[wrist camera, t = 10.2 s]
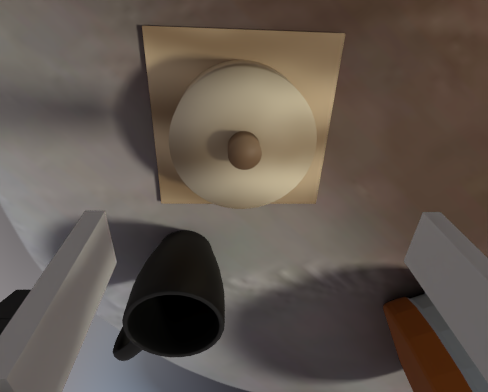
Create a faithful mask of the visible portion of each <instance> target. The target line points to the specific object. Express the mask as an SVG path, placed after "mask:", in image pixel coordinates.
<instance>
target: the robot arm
mask: <svg viewBox="0 0 488 392" xmlns="http://www.w3.org/2000/svg"><path fill="white" fill-rule="evenodd" d="M404 262H405V264H406V265H407V267H408V268H409V269H410V271H411V272H412V274H413V275H414V277H415V278H416V280H417V281H418V283H419V284H420V285H421V287H422V288H423V290H424V291H425V293H426V294H427V296H428V297H429V298H430V300H431V301H432V303H433V304H434V306H435V307H436V309H437V310H438V312H439V313H440V314H441V316H442V317H443V319H444V320H445V322H446V323H447V325H448V326H449V328H450V329H451V330H452V332H453V333H454V335H455V336H456V338H457V339H458V341H459V342H460V344H461V345H462V346H463V348H464V349H465V351H466V352H467V354H468V355H469V357H470V358H471V360H472V361H473V362H474V364H475V365H476V367H477V368H478V370H479V371H480V373H481V374H482V375H483V377H484V378H485V380H486V381H487V383H488V258H487V257H486V256H485V255H484V254H483V253H482V252H481V251H480V250H479V249H478V248H477V247H476V246H475V245H474V244H473V243H472V242H471V241H470V240H468V239H467V238H466V237H465V236H464V235H463V234H462V233H461V232H460V231H459V230H458V229H457V228H456V227H455V226H454V225H453V224H452V223H451V222H450V221H449V220H448V219H447V218H446V217H445V216H444V215H443V214H442V213H441V212H423V214H422V216H421V219H420V221H419V224H418V226H417V229H416V231H415V234H414V236H413V239H412V241H411V244H410V246H409V249H408V252H407V254H406V257H405V259H404ZM116 263H117V261H116V256H115V252H114V248H113V243H112V239H111V234H110V230H109V226H108V221H107V217H106V212H105V211H85V212H84V213H83V215H82V216H81V218H80V219H79V221H78V222H77V224H76V225H75V227H74V228H73V229H72V231H71V232H70V234H69V235H68V237H67V238H66V240H65V241H64V243H63V244H62V246H61V247H60V249H59V250H58V251H57V253H56V254H55V256H54V257H53V259H52V260H51V262H50V263H49V265H48V266H47V268H46V269H45V270H44V272H43V273H42V275H41V276H40V278H39V279H38V281H37V282H36V284H35V285H34V287H33V288H32V289H31V290H16V291H14V292H13V293H12V294H10V295H9V296H8V297H7V298H5V299H4V300H3V301H2V302H0V392H62V390H63V388H64V386H65V384H66V381H67V379H68V376H69V374H70V372H71V369H72V367H73V365H74V362H75V360H76V358H77V355H78V353H79V350H80V348H81V346H82V343H83V341H84V339H85V336H86V334H87V332H88V329H89V327H90V325H91V322H92V320H93V318H94V315H95V313H96V311H97V308H98V306H99V303H100V301H101V299H102V296H103V294H104V292H105V289H106V287H107V285H108V282H109V280H110V278H111V275H112V273H113V270H114V268H115V266H116Z"/></svg>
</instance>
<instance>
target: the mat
mask: <svg viewBox="0 0 488 392" xmlns="http://www.w3.org/2000/svg"><path fill="white" fill-rule="evenodd" d="M142 31H143V40H144V49H145V58H146V67H147V76H148V85H149V94H150V103H151V112H152V121H153V131H154V140H155V149H156V158H157V167H158V176H159V185H160V194H161V203H181V204H213V203H211V202H209V201H207V200H205V199H203V198H201V197H200V196H198V195H197V194H196V193H194V192H193V191H192V190H191V189H190V188H189V187H188V186H187V185H186V184H185V183H184V182H183V180H182V179H181V178H180V176H179V174H178V173H177V171H176V169H175V167H174V165H173V162H172V159H171V155H170V149H169V130H170V125H171V121H172V118H173V115H174V113H175V111H176V108H177V106H178V104H179V102H180V100H181V98H182V96H183V94H184V92H185V90H186V89H187V87H188V86H189V85H190V84H191V82H192V81H193V80H194V79H195V78H196V77H197V76H198V75H200V74H201V73H202V72H204V71H205V70H207V69H208V68H210V67H212V66H215V65H217V64H220V63H223V62H227V61H232V60H249V61H255V62H259V63H263V64H265V65H268V66H270V67H272V68H273V69H275V70H277V71H278V72H280V73H281V74H282V75H283V76H285V77H286V78H287V79H288V80H289V82H290V83H291V84H292V85H293V86H294V87H295V88H296V89H297V90H298V91H299V92H300V93H301V94H302V96H303V97H304V99H305V100H306V101H307V103H308V105H309V107H310V109H311V111H312V114H313V117H314V120H315V124H316V130H317V143H316V150H315V154H314V158H313V160H312V163H311V166H310V167H309V169H308V171H307V173H306V174H305V176H304V177H303V179H302V180H301V181H300V182H299V183H298V185H297V186H296V187H295V188H294V189H292V190H291V191H290V192H289V193H288V194H286V195H285V196H283V197H282V198H280V199H278V200H276V201H274V202H272V203H269V204H316V199H317V193H318V187H319V182H320V176H321V170H322V164H323V159H324V153H325V147H326V142H327V136H328V130H329V124H330V119H331V113H332V107H333V101H334V96H335V90H336V84H337V79H338V73H339V67H340V61H341V56H342V50H343V44H344V38H345V33H327V32H301V31H274V30H247V29H221V28H194V27H168V26H142Z"/></svg>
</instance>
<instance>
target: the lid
mask: <svg viewBox="0 0 488 392" xmlns="http://www.w3.org/2000/svg"><path fill="white" fill-rule="evenodd" d="M316 143H317V130H316V124H315V120H314V117H313V114H312V111H311V109H310V107H309V105H308V103H307V101H306V100H305V99H304V97H303V96H302V94H301V93H300V92H299V91H298V90H297V89H296V88H295V87H294V86H293V85H292V84H291V83H290V82H289V80H288V79H287V78H286V77H285V76H283V75H282V74H281V73H280V72H278V71H277V70H275V69H273V68H272V67H270V66H268V65H265V64H263V63H259V62H255V61H249V60H232V61H227V62H223V63H220V64H217V65H215V66H212V67H210V68H208V69H207V70H205V71H204V72H202V73H201V74H200V75H198V76H197V77H196V78H195V79H194V80H193V81H192V82H191V84H190V85H189V86H188V87H187V89H186V90H185V92H184V94H183V96H182V98H181V100H180V102H179V104H178V106H177V108H176V111H175V113H174V115H173V118H172V121H171V125H170V130H169V149H170V155H171V159H172V162H173V165H174V167H175V169H176V171H177V173H178V174H179V176H180V178H181V179H182V180H183V182H184V183H185V184H186V185H187V186H188V187H189V188H190V189H191V190H192V191H193V192H194V193H196V194H197V195H198V196H200V197H201V198H203V199H205V200H207V201H209V202H211V203H213V204H216V205H219V206H223V207H228V208H236V209H246V208H255V207H260V206H263V205H267V204H269V203H272V202H274V201H276V200H278V199H280V198H282V197H283V196H285V195H286V194H288V193H289V192H290V191H291V190H292V189H294V188H295V187H296V186H297V185H298V183H299V182H300V181H301V180H302V179H303V177H304V176H305V174H306V173H307V171H308V169H309V167H310V166H311V163H312V160H313V158H314V154H315V150H316Z"/></svg>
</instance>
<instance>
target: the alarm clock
mask: <svg viewBox="0 0 488 392" xmlns="http://www.w3.org/2000/svg"><path fill="white" fill-rule="evenodd" d="M383 310H384V313H385V316H386V319H387V322H388V325H389V329H390V332H391V335H392V338H393V341H394V344H395V347H396V350H397V354H398V357H399V360H400V362H401V365H402V367H403V369H404V372H405V374H406V376H407V379H408V381H409V383H410V385H411V387H412V389H413V392H488V383H487V381H486V380H485V378H484V377H483V375H482V374H481V373H480V371H479V370H478V368H477V367H476V365H475V364H474V362H473V361H472V360H471V358H470V357H469V355H468V354H467V352H466V351H465V349H464V348H463V346H462V345H461V344H460V342H459V341H458V339H457V338H456V336H455V335H454V333H453V332H452V330H451V329H450V328H449V326H448V325H447V323H446V322H445V320H444V319H443V317H442V316H441V314H440V313H439V312H438V310H437V309H436V307H435V306H434V304H433V303H432V301H431V300H430V298H429V297H428V296H427V294H426V293H424V294H423V295H420V296H417V297H413V298H410V299H409V298H406V297H402V298H399V299H395V300H392V301H389V302H387V303H386V304H384V307H383Z"/></svg>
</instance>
